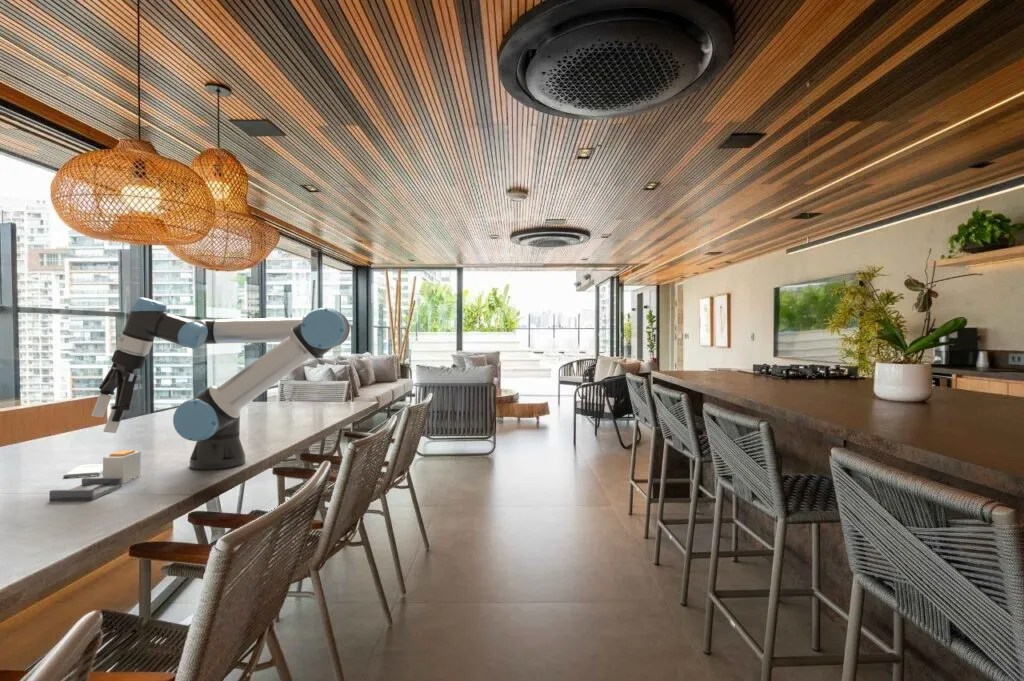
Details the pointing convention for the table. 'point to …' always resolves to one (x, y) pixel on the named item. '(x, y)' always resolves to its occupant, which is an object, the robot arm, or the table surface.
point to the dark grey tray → (87, 490)
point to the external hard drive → (85, 470)
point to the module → (122, 465)
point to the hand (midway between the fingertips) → (103, 424)
